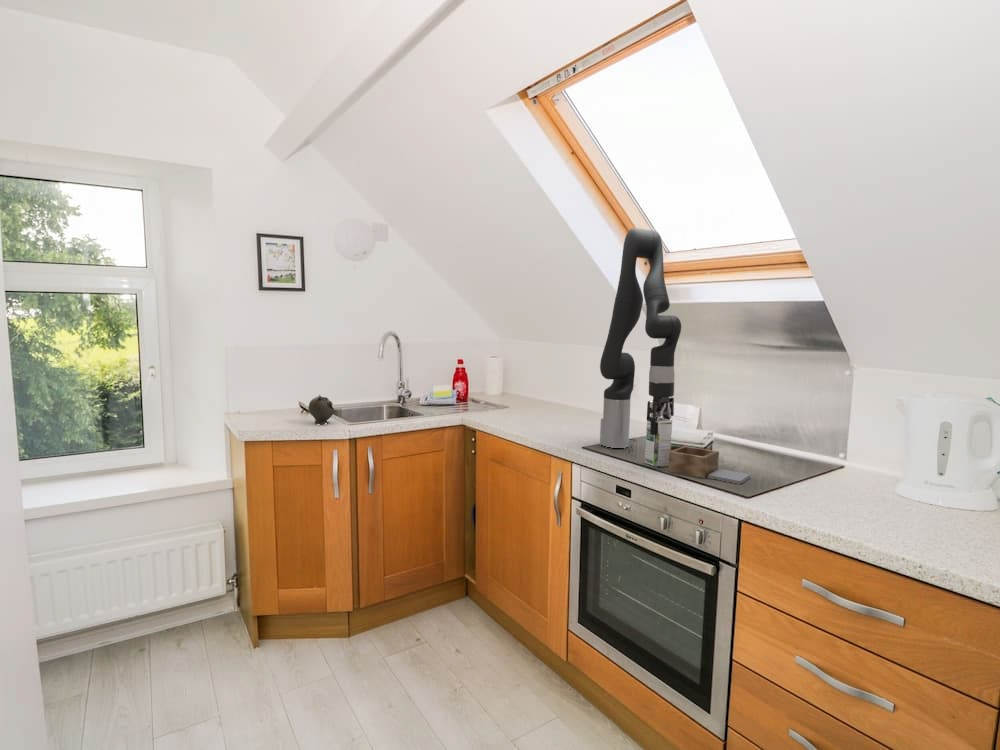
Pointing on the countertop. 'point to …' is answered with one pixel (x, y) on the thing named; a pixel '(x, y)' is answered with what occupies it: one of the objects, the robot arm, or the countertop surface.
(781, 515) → the countertop surface
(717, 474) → the slate mat
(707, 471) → the walnut sleeve
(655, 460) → the syrup box
